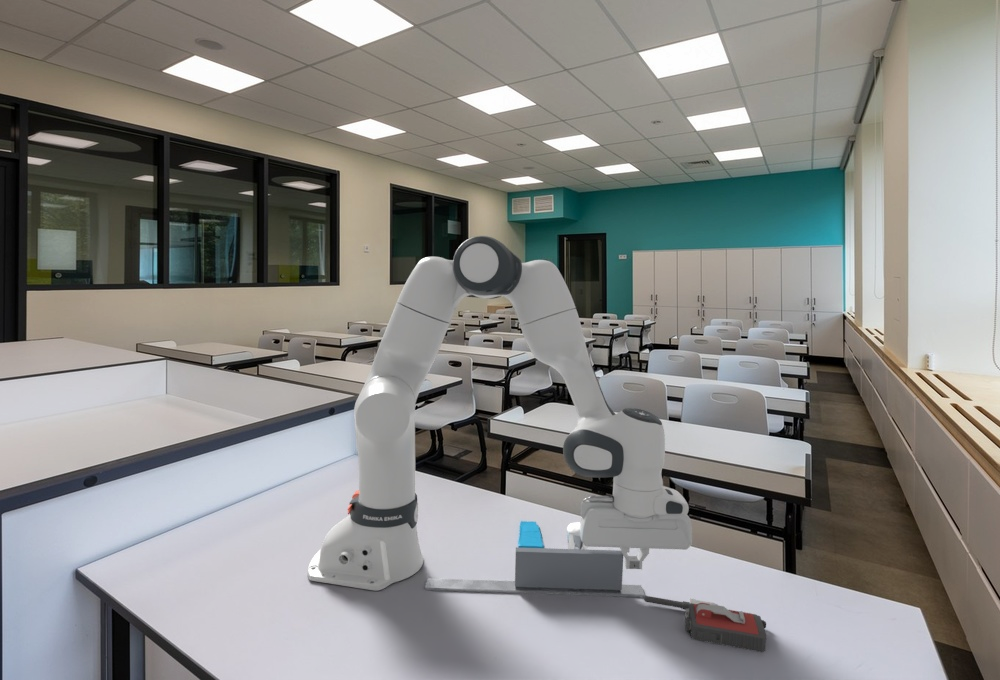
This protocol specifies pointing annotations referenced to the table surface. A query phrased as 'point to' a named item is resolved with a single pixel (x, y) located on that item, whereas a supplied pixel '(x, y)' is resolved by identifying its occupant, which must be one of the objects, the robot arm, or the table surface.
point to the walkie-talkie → (720, 624)
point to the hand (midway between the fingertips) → (633, 567)
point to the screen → (568, 568)
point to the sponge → (530, 535)
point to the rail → (524, 588)
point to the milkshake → (574, 536)
